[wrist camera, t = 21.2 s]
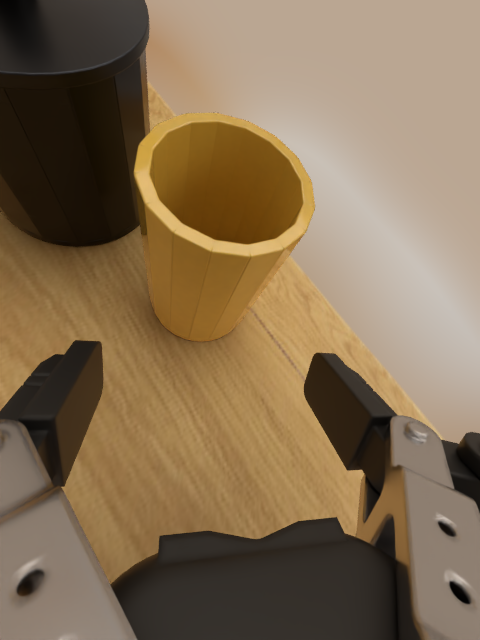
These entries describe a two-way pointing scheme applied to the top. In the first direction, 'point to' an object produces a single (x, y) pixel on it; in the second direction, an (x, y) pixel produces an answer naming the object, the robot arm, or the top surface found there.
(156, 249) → the cup
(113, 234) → the pot
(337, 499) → the top surface
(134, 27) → the pot lid
